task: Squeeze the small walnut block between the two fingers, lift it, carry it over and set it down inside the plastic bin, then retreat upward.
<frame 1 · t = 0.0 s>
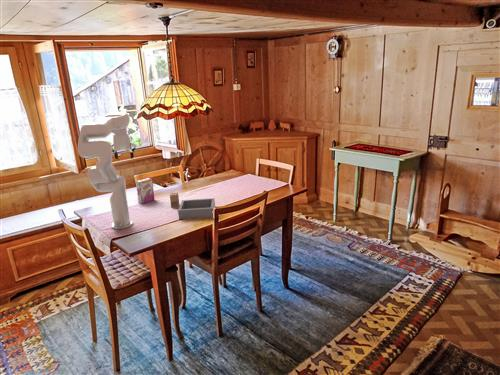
hand: (124, 158, 234), 37 cm above the table, tool pointing down, fingers open, 9 cm apart
bin: (197, 212, 237), on the table
candy bar box: (146, 201, 265), on the table
walnut block: (175, 206, 251), on the table
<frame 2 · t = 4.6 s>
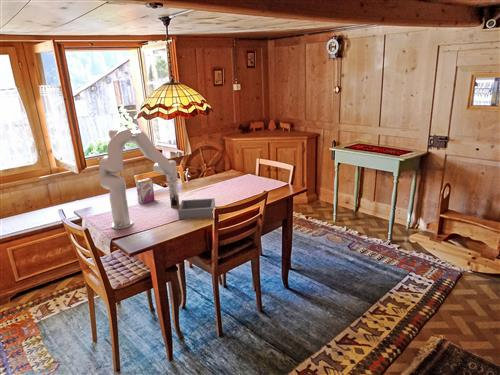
hand: (175, 203, 251), 2 cm above the table, tool pointing down, fingers closed on walnut block, 5 cm apart
walnut block: (175, 206, 251), on the table, touching gripper
everything else where it was.
when the fingers open (5 cm above the table, at t = 11.9 s): walnut block drops 2 cm, resting on bin.
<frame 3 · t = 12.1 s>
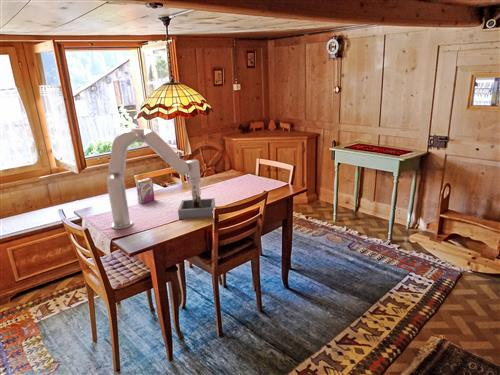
hand: (197, 205, 235), 5 cm above the table, tool pointing down, fingers open, 7 cm apart
walnut block: (197, 211, 236), point 1 cm above the table, touching bin
everything else where it was.
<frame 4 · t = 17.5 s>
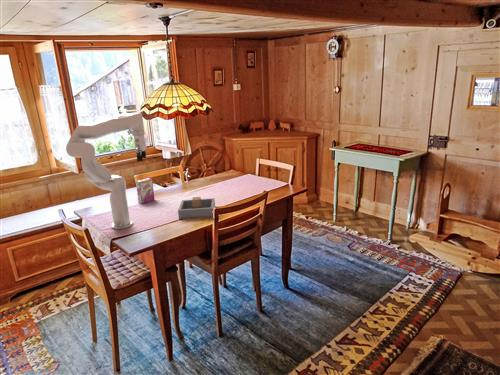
hand: (141, 159, 231), 36 cm above the table, tool pointing down, fingers open, 9 cm apart
nothing on the table moved.
at the end: walnut block inside the target area on the bin (0.1 cm from its centre), point 1.0 cm above the bin's base; the gripper is holding nothing; walnut block tilted 0° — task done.
